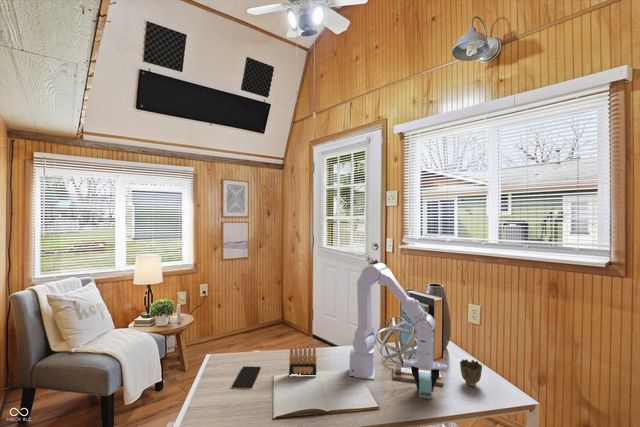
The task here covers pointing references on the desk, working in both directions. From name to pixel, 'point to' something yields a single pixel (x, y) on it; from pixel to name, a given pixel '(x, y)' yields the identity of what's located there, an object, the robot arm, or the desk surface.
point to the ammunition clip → (302, 361)
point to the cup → (471, 372)
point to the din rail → (409, 371)
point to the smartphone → (246, 378)
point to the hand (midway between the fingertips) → (424, 389)
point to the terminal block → (425, 385)
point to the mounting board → (412, 377)
